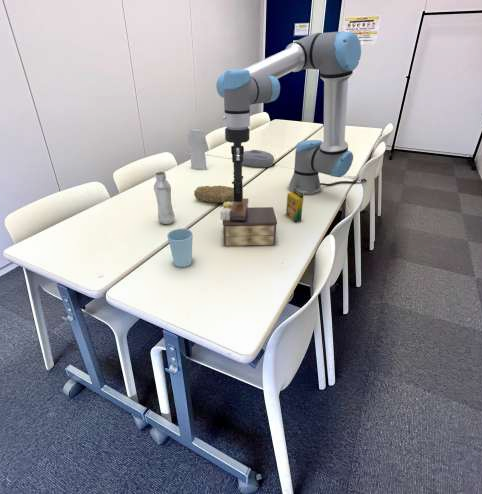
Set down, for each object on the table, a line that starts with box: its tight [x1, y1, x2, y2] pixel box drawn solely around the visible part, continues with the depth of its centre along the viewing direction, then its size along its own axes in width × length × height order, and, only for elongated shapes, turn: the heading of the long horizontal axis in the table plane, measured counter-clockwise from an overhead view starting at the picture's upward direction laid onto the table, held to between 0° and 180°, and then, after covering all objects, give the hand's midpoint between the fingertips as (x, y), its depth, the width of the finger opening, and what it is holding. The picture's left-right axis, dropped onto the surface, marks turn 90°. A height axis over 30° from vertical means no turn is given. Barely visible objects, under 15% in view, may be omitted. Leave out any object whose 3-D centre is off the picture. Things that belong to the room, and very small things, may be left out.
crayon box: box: [285, 188, 304, 223], centre depth 128 cm, size 7×3×12 cm, turn 23°
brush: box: [231, 180, 249, 220], centre depth 109 cm, size 5×11×13 cm, turn 174°
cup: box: [166, 228, 194, 268], centre depth 101 cm, size 8×8×10 cm
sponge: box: [193, 185, 234, 204], centre depth 144 cm, size 13×8×20 cm
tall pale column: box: [187, 128, 207, 171], centre depth 181 cm, size 11×4×22 cm, turn 68°
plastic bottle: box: [153, 171, 176, 225], centre depth 123 cm, size 6×7×20 cm
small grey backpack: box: [242, 149, 275, 168], centre depth 191 cm, size 15×8×20 cm
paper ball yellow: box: [222, 201, 234, 209], centre depth 114 cm, size 4×4×3 cm
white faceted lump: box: [220, 207, 232, 221], centre depth 110 cm, size 4×4×3 cm
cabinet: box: [222, 206, 278, 247], centre depth 115 cm, size 18×14×9 cm
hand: (237, 199), depth 109 cm, fingers closed on brush, 2 cm apart
